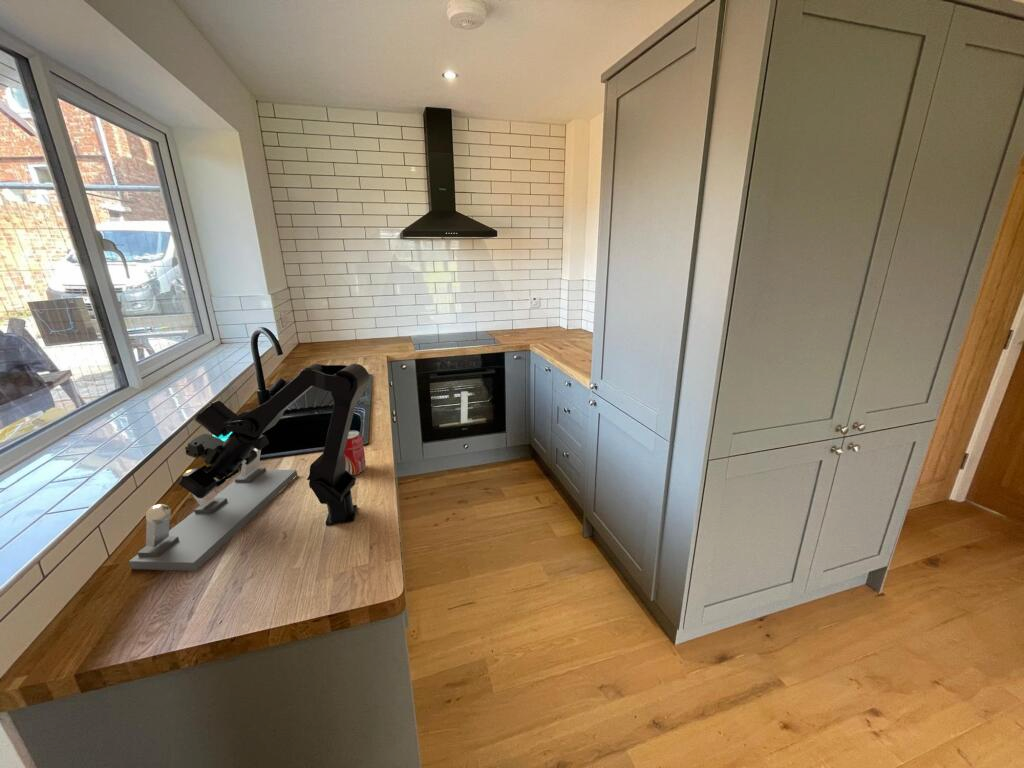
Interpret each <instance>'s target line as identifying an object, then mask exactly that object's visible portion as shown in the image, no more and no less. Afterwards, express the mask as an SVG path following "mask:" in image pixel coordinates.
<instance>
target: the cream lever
mask: <svg viewBox="0 0 1024 768" xmlns="http://www.w3.org/2000/svg"><path fill="white" fill-rule="evenodd" d="M171 515H172V510H171V508H170V506H169V505H167V504H164V503H158V504H154V505H152V506H150V507H149V508H148V510H147V511H146V512H145V519H146V523H145V528H146V529H145V546H151V547H156V546H157V545H158V544H159V543H161V542H162V541H163V540H165V539H166V538H167V537H169V530H170V519H171Z"/></svg>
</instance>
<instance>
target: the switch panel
mask: <svg viewBox="0 0 1024 768" xmlns="http://www.w3.org/2000/svg"><path fill="white" fill-rule="evenodd" d="M295 476H297V477H298V472H297V469H266V467H263V466H262V467H260V466H258V467H257V468H255V469H254V470H253V471H251V472H250V473H249V474H248V475H246V476H242V475H241V474H240V475H238V476H237V477H236V478H235V479H234V481H233V482H232V483H230V484H229V485H228V486H226V487H225V488H223V489H222V490H221V491H220V492H218V493H216V494H217V496H216V497H214V498H213V499H212V500H210V501H209V502H208V503H206V504H204V505H202V506H200V505H198V506H197V507H196V508H194V509H193V512H192V513H190V514H189V515H188V516H186V517H185V518H184V519H182V520H181V521H180V522H178V523H177V524H175V525H174V526H173V527H172V528H171V529H169V537H167V538H166V539H165V540H163V541H162V542H161V543H159V544H158V545H157V546H156V547H151V546H147V545H145V546H144V547H142V548H141V549H139V550H138V551H137V554H136V555H135V556H134V557H132V558H131V559H130V560H128V563H129V565H130V568H131V570H151V571H152V570H153V571H154V570H155V571H156V570H157V571H159V570H160V571H162V570H163V571H197V570H198V569H199V568H200V567H202V566H203V565H204V564H205V563H206V562H207V561H208V560H209V559H210V558H211V557H212V556H213V555H215V553H217V552H218V551H219V549H220V550H221V548H222V547H223V546H224V545H225V544H226V543H228V542H229V541H230V539H232V538H233V537H234V536H235V535H236V534H237V533H238V532H239V531H240V530H242V528H244V526H245V525H247V524H248V523H249V522H250V521H251V520H252V519H253V518H254V517H255V516H257V514H258V513H259V512H260V511H261V510H263V509H264V508H265V507H266V506H267V505H268V504H269V503H270V502H271V501H272V500H273V499H274V498H276V497H277V495H278V493H279V492H280V491H281V490H282V489H283V488H284V487H285V486H286V485H287V484H288V485H290V483H291V482H293V481H294V480H293V478H294V477H295ZM290 481H291V482H290ZM288 485H287V486H288ZM287 486H286V487H287ZM286 487H285V488H286ZM285 488H284V489H285ZM284 489H283V490H284ZM283 490H282V491H283ZM282 491H281V492H282ZM281 492H280V493H281ZM280 493H279V494H280Z"/></svg>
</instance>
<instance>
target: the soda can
mask: <svg viewBox="0 0 1024 768" xmlns="http://www.w3.org/2000/svg"><path fill="white" fill-rule="evenodd" d="M365 454H366V453H365V448H364V442H363V437H362V436H361V434H360V432H359V431H358V430H351V429H350V430H349V434H348V438H347V442H346V446H345V450H344V454H343V457H344V460H345V463H346V467H345V470H346V471H348V472H349V473H350V474H351V475H353V476H355V475H358V474H361V473H362V472H363V471H364V470H365V469H366V467H367V466H366V464H367V463H366V457H365V456H366V455H365ZM360 472H361V473H360Z"/></svg>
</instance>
